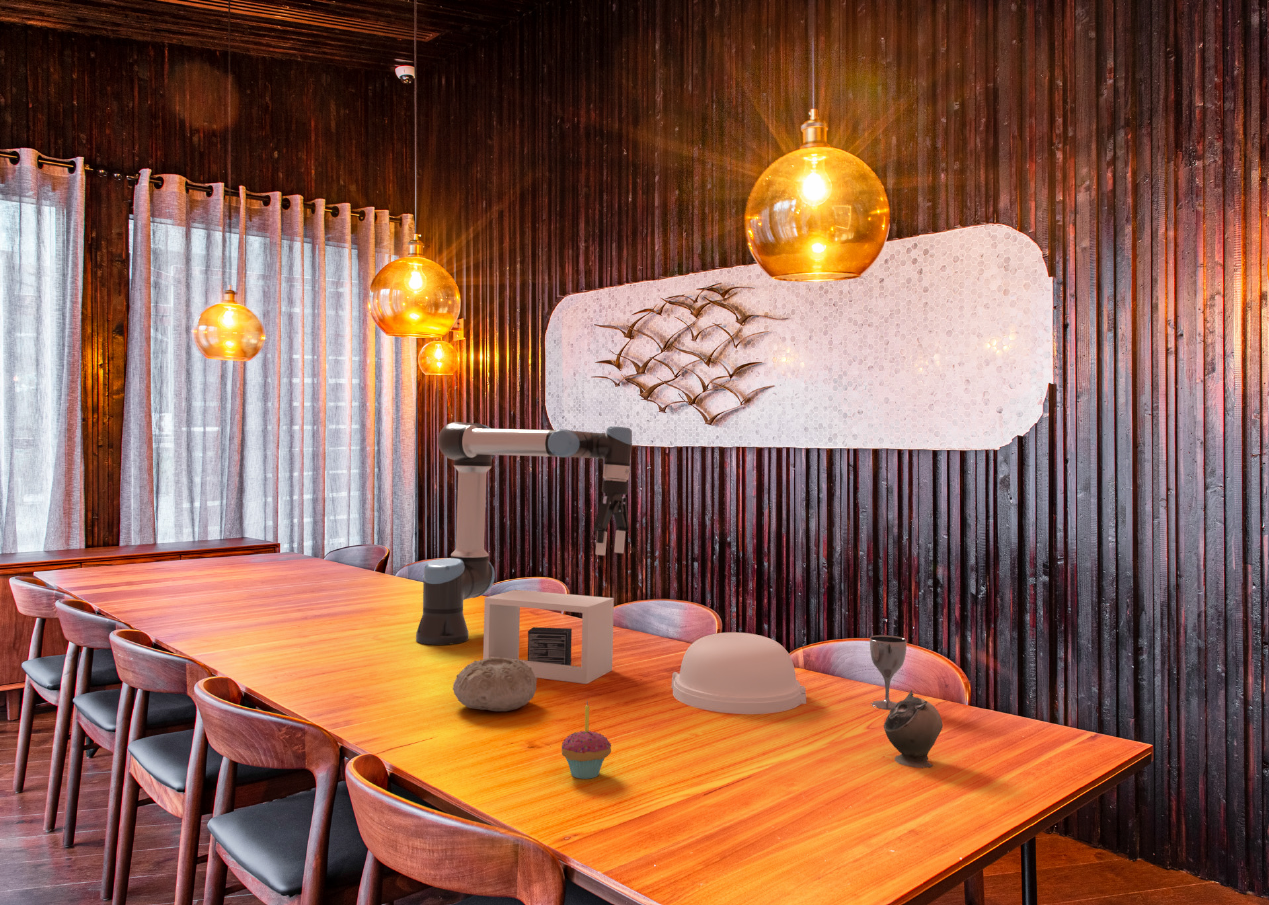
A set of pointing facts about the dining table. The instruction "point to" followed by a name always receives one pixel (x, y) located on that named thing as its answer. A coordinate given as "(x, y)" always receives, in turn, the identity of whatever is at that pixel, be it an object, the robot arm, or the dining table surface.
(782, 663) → the dome cover
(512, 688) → the decorative shell
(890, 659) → the wine glass
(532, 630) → the small box
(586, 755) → the cupcake
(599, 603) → the cubby
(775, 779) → the dining table surface
